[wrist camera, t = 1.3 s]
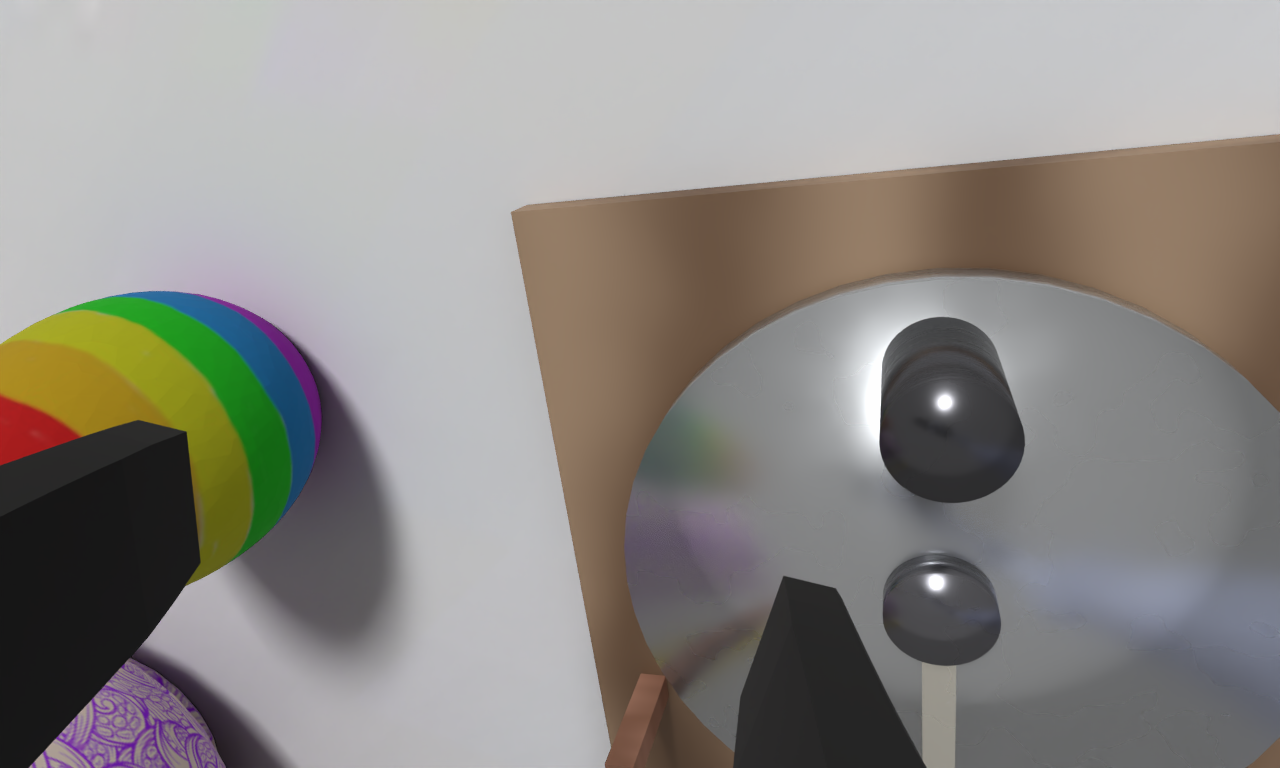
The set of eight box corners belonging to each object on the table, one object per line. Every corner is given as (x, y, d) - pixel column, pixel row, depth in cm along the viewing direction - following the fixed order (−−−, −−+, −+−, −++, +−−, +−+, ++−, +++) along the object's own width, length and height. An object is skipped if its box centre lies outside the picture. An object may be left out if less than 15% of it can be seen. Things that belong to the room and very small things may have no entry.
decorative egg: (296, 538, 28) (25, 766, 19) (115, 387, 28) (-247, 547, 19) (402, 387, 24) (122, 585, 15) (193, 209, 24) (-213, 308, 15)
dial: (1391, 241, 15) (1577, 316, 11) (1263, 861, 21) (1354, 1060, 17) (595, 287, 20) (518, 350, 16) (671, 778, 26) (629, 916, 22)
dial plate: (1511, 112, 15) (1742, 138, 11) (1324, 878, 22) (1420, 1064, 18) (527, 204, 21) (441, 243, 17) (630, 779, 28) (586, 901, 24)
